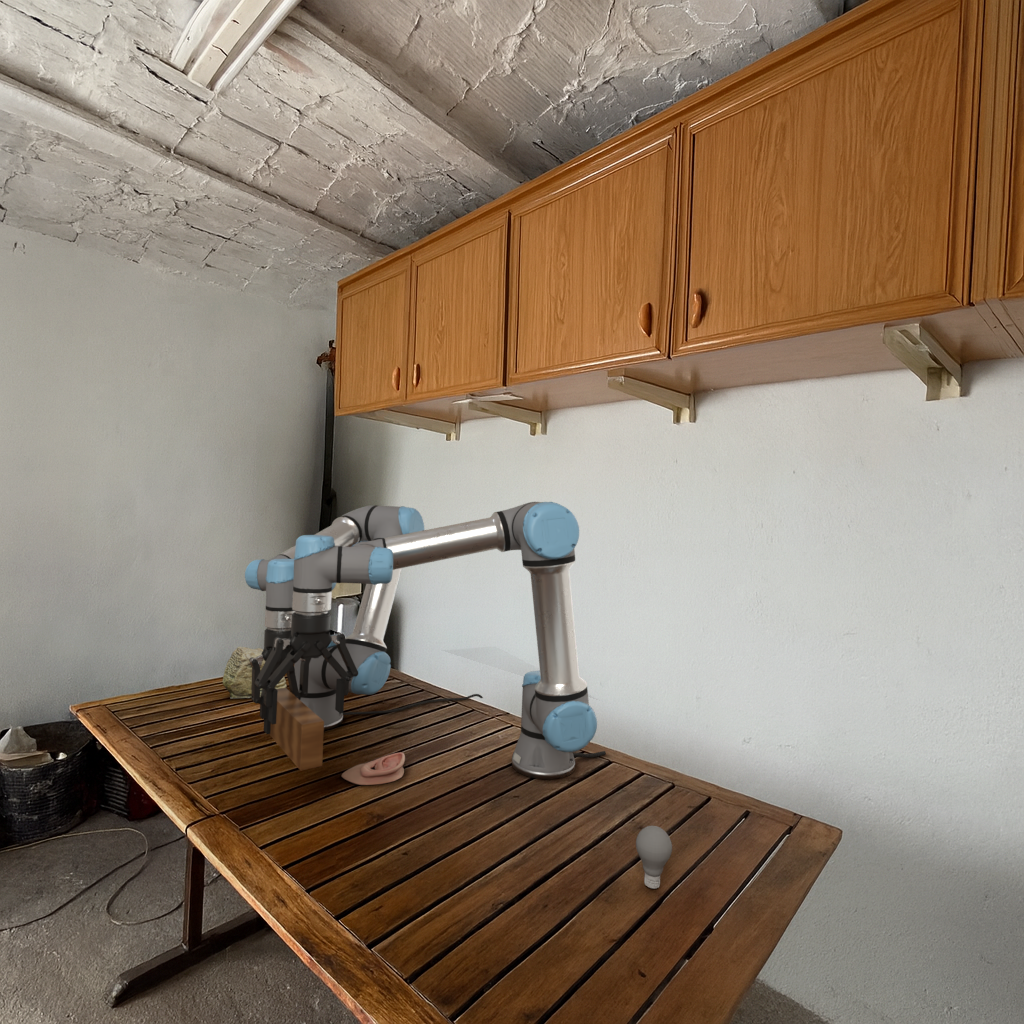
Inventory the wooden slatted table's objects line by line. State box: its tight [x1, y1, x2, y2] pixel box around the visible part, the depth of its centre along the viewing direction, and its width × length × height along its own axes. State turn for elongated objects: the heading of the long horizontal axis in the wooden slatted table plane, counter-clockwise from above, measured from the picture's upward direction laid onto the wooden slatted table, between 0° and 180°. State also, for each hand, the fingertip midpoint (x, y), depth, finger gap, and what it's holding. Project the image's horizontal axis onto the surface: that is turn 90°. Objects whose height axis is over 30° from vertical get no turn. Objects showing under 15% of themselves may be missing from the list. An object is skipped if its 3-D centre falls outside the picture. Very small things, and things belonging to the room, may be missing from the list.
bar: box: [268, 687, 325, 772], centre depth 136 cm, size 25×4×9 cm, turn 36°
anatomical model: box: [341, 751, 406, 786], centre depth 145 cm, size 13×4×12 cm
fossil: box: [222, 646, 288, 699], centre depth 198 cm, size 9×18×15 cm, turn 132°
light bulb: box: [635, 825, 673, 889], centre depth 107 cm, size 6×6×10 cm
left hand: (278, 729), depth 144 cm, fingers closed on bar, 4 cm apart
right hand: (306, 716), depth 128 cm, fingers open, 13 cm apart
